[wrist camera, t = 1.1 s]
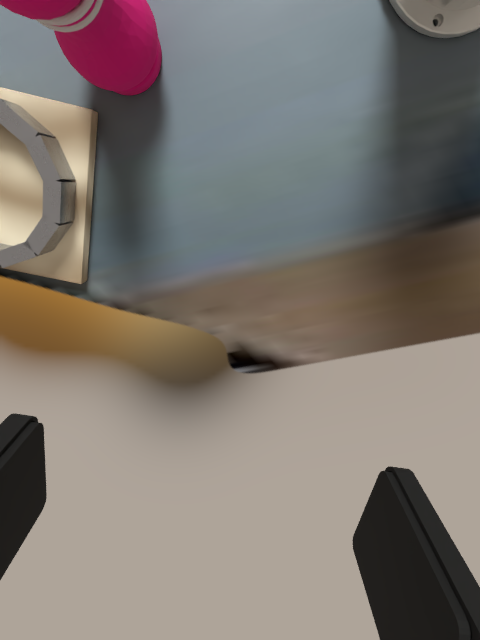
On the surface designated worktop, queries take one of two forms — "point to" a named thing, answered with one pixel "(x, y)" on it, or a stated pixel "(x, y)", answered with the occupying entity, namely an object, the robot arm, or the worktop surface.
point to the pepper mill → (102, 39)
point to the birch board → (27, 185)
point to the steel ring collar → (55, 185)
